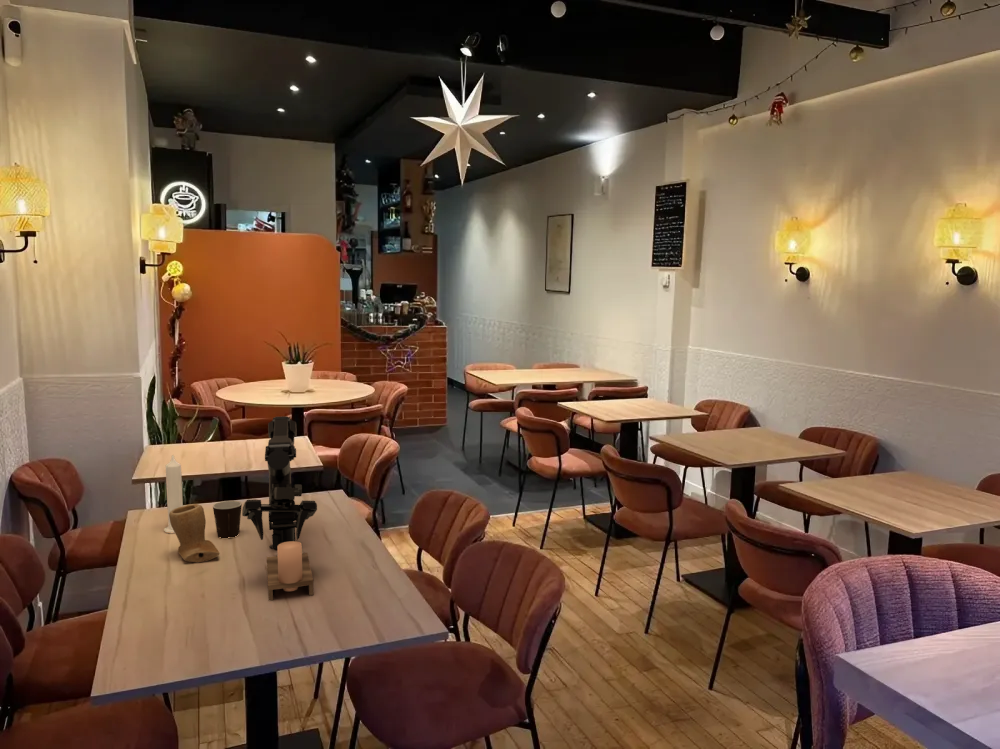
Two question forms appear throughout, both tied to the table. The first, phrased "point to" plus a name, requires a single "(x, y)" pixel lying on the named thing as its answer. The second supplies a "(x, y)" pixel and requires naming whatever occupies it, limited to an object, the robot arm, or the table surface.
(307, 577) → the walnut keyhole board
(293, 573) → the terracotta peg
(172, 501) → the candle
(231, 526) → the coffee mug
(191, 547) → the stone cup
